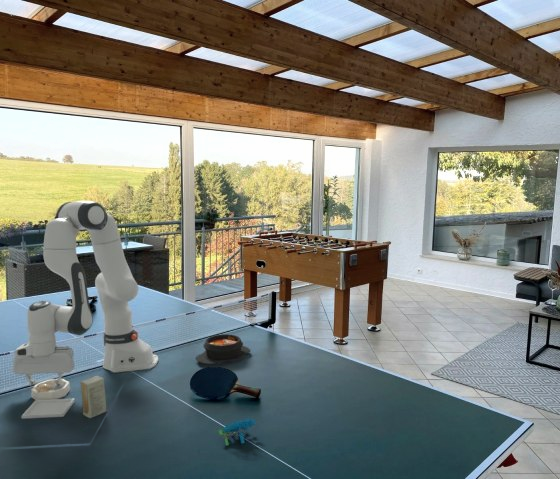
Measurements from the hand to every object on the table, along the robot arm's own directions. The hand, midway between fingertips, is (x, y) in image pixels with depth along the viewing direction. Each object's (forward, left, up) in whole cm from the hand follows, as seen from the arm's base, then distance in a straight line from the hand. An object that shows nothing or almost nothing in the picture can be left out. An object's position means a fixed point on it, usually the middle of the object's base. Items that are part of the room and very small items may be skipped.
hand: (45, 384), depth 177 cm
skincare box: (-22, +16, -4) cm, 27 cm away
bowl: (-2, 0, -4) cm, 5 cm away
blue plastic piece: (-69, +36, -5) cm, 78 cm away
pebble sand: (0, 0, -4) cm, 4 cm away
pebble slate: (-3, 0, -3) cm, 4 cm away
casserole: (-63, -30, -5) cm, 69 cm away
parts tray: (-6, +12, -4) cm, 14 cm away
